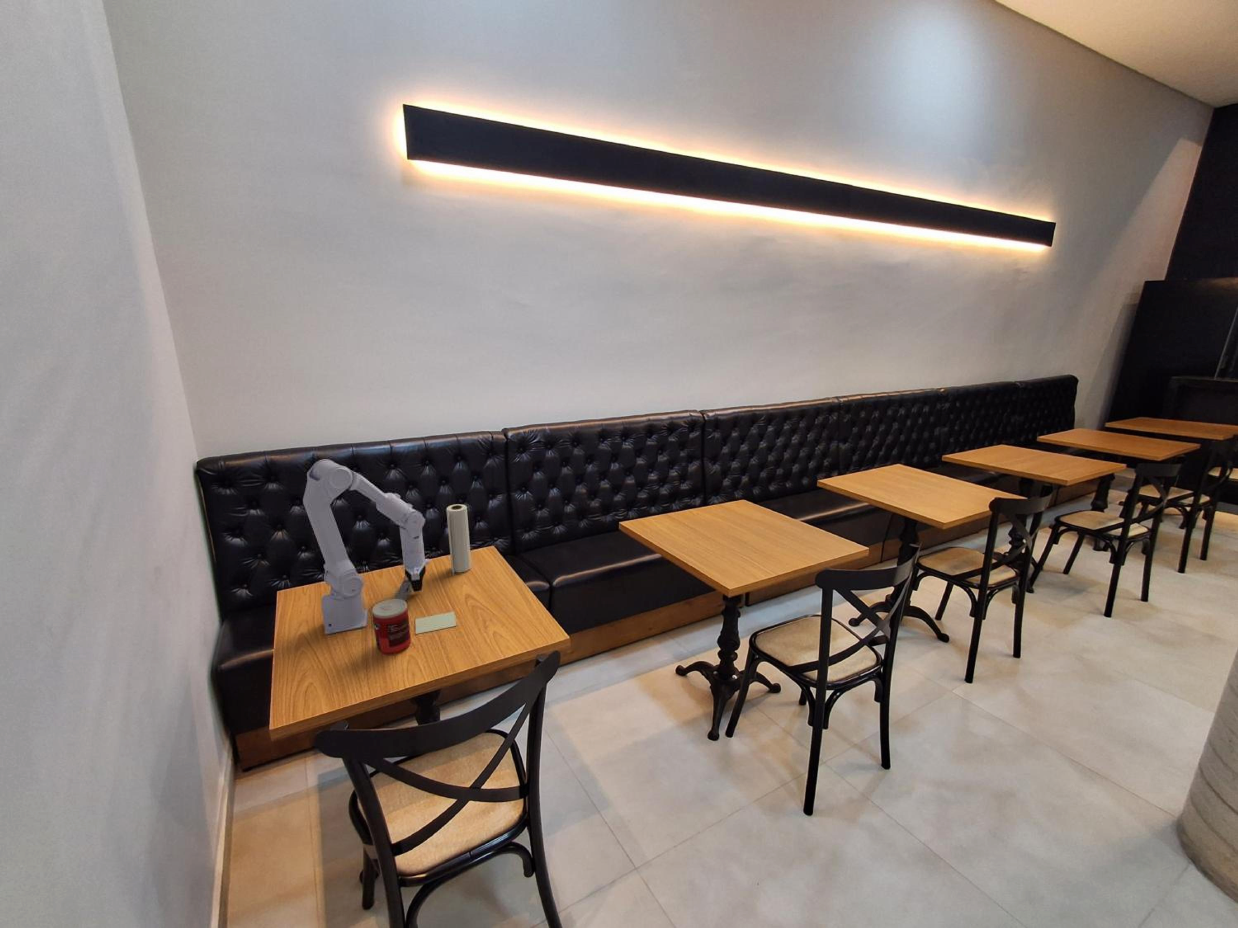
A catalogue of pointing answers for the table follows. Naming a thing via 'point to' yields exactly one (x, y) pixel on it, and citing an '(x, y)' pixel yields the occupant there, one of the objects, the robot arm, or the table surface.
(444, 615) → the plate
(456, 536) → the paper towel roll
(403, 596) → the grey copper-tipped rod
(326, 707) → the table surface
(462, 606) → the table surface
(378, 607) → the canned food
